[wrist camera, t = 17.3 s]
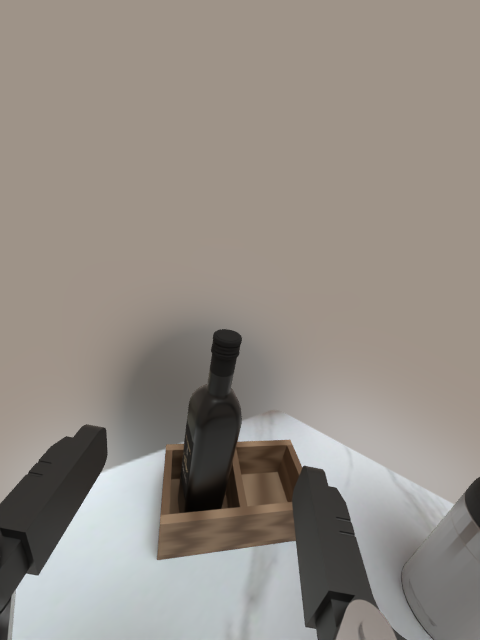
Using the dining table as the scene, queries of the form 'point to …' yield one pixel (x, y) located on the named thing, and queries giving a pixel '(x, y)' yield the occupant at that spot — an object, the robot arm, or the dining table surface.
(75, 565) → the dining table surface
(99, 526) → the dining table surface
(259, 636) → the dining table surface
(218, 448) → the wine bottle
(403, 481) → the dining table surface
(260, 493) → the bottle rack
